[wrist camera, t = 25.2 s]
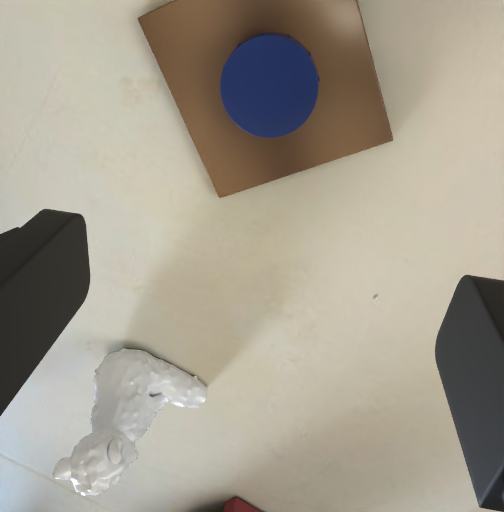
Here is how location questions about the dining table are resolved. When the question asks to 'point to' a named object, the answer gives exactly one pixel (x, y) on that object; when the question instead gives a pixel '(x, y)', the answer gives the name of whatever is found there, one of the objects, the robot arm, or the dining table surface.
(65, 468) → the white creature statuette
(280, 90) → the jar lid
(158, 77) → the dining table surface
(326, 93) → the cork coaster
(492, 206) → the dining table surface
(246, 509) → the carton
